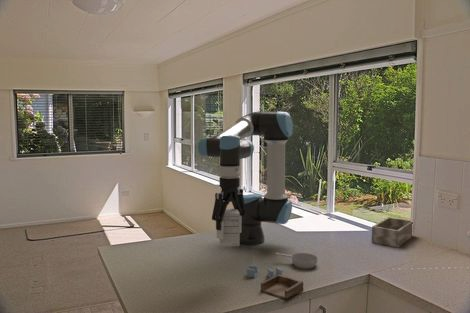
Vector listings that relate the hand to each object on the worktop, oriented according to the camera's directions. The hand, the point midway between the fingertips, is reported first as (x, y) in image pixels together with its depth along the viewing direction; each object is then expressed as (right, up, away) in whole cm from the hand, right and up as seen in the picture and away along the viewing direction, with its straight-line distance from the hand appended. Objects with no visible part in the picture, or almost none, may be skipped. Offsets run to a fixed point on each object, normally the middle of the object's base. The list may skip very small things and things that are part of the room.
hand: (229, 235), depth 157 cm
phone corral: (+84, -13, +57) cm, 102 cm away
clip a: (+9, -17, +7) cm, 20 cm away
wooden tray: (+19, -19, -8) cm, 28 cm away
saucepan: (+28, -16, +20) cm, 38 cm away
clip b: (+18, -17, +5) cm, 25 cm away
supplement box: (0, -3, 0) cm, 4 cm away
